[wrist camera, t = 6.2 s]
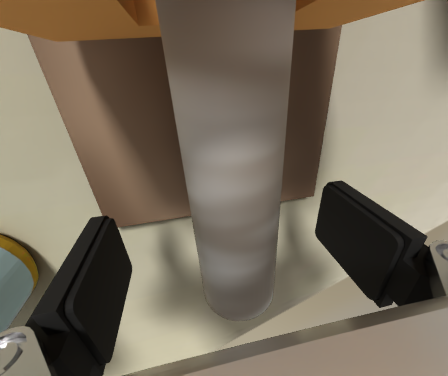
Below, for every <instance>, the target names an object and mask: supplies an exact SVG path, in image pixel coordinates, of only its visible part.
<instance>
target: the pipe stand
mask: <svg viewBox="0 0 448 376" xmlns="http://www.w3.org/2000/svg"><path fill="white" fill-rule="evenodd" d="M155 2H156V8H157V14H158V20H159V26H160V31H161V37H145V38H125V39H104V40H83V41H63V42H55V41H52V40H48V39H44V38H40V37H36V36H32V35H28V34H27V35H28V37H29V40H30V42H31V45H32V47H33V49H34V52H35V54H36V57H37V59H38V61H39V64H40V66H41V69H42V71H43V73H44V76H45V78H46V81H47V83H48V85H49V88H50V90H51V93H52V95H53V97H54V100H55V102H56V105H57V107H58V110H59V112H60V114H61V117H62V119H63V122H64V124H65V126H66V129H67V131H68V134H69V136H70V138H71V141H72V143H73V146H74V148H75V150H76V153H77V155H78V158H79V160H80V162H81V165H82V167H83V170H84V172H85V174H86V177H87V179H88V182H89V184H90V186H91V189H92V191H93V194H94V196H95V198H96V201H97V203H98V206H99V208H100V210H101V213H102V215H103V216H106V215H107V216H108V217H109V218H113V219H114V220H115V222H116V225H117V227H123V226H129V225H136V224H142V223H148V222H155V221H161V220H167V219H173V218H180V217H186V216H192V222H193V228H194V234H195V240H196V246H197V252H198V258H199V264H200V270H201V276H202V282H203V288H204V293H205V298H206V301H207V303H208V305H209V306H210V307H211V309H212V310H213V311H214V312H215V313H217V314H218V315H220V316H221V317H223V318H226V319H229V320H233V321H245V320H250V319H253V318H255V317H257V316H259V315H260V314H262V313H263V312H264V311H265V310H266V309H267V308H268V306H269V305H270V303H271V301H272V298H273V291H274V278H275V265H276V253H277V240H278V227H279V214H280V201H286V200H292V199H299V198H305V197H311V196H314V191H315V185H316V179H317V173H318V167H319V161H320V155H321V149H322V143H323V137H324V131H325V125H326V119H327V113H328V106H329V100H330V94H331V88H332V82H333V76H334V70H335V64H336V58H337V52H338V46H339V40H340V34H341V28H342V25H340V26H336V27H333V28H330V29H311V30H294V22H295V9H296V0H155Z"/></svg>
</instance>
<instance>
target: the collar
mask: <svg viewBox="0 0 448 376" xmlns="http://www.w3.org/2000/svg"><path fill="white" fill-rule="evenodd" d="M420 1H424V0H296V9H295V22H294V30H311V29H330V28H333V27H336V26H340V25H343V24H346V23H350V22H353V21H356V20H360V19H363V18H367V17H370V16H373V15H377V14H380V13H383V12H387V11H390V10H393V9H397V8H400V7H403V6H407V5H410V4H414V3H417V2H420ZM0 27H1V28H5V29H9V30H13V31H17V32H21V33H25V34H28V35H32V36H36V37H40V38H44V39H48V40H52V41H55V42H63V41H83V40H104V39H125V38H145V37H161V31H160V26H159V20H158V14H157V8H156V2H155V0H0Z"/></svg>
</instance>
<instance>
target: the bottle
mask: <svg viewBox="0 0 448 376" xmlns="http://www.w3.org/2000/svg"><path fill="white" fill-rule="evenodd" d="M38 276H39V275H38V271H37V267H36V264H35V262H34V260H33V258H32V256H31V255H30V254H29V253H28V251H27V250H26V249H25V248H24V247H22V246H21V245H20V244H18V243H17V242H16V241H14V240H12V239H10V238H8V237H5V236H3V235H1V234H0V333H1V332H3V331H5V330H7V329H8V328H9V326H10V325H11V323H12V322H13V320H14V319H15V317H16V316H17V314H18V313H19V311H20V310H21V308H22V307H23V305H24V304H25V302H26V301H27V299H28V298H29V296H30V295H31V293H32V291H33V289H34V288H35V286H36V284H37V281H38Z"/></svg>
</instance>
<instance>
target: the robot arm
mask: <svg viewBox="0 0 448 376" xmlns="http://www.w3.org/2000/svg"><path fill="white" fill-rule="evenodd" d="M315 234H316V237H317V238H318V240H319V241H320V242H321V243H322V244H323V245H324V247H325V248H326V249H327V250H328V251H329V253H330V254H331V255H332V256H333V257H334V259H335V260H336V261H337V262H338V263H339V264H340V266H341V267H342V268H343V269H344V270H345V272H346V273H347V274H348V275H349V276H350V277H351V279H352V280H353V281H354V282H355V283H356V285H357V286H358V287H359V288H360V289H361V290H362V291H363V293H364V294H365V295H366V296H367V297H368V298H369V299H371V300H373V301H374V302H375V303H376V304H377V306H378V307H379V308H381V307H385V306H389V305H392V303H393V301H394V302H395V303H396V304H397V305H398V307H395V308H390V309H386V310H382V311H378V312H374V313H370V314H365V315H361V316H357V317H353V318H349V319H345V320H341V321H336V322H332V323H328V324H324V325H320V326H316V327H312V328H308V329H304V330H300V331H296V332H292V333H288V334H284V335H279V336H275V337H271V338H267V339H263V340H260V341H255V342H252V343H247V344H244V345H239V346H235V347H231V348H227V349H223V350H219V351H215V352H211V353H207V354H204V355H200V356H196V357H192V358H188V359H184V360H180V361H176V362H172V363H168V364H164V365H160V366H156V367H152V368H149V369H145V370H141V371H138V372H134V373H130V374H127V375H123V376H448V241H443V240H441V241H434V242H432V243H431V244H430V245H429V247H428V246H426V245H425V244H424V242H425V241H426V239H427V236H426V235H424V234H423V233H421V232H420V231H418V230H417V229H415V228H414V227H412V226H411V225H409V224H408V223H406V222H404V221H403V220H401V219H400V218H398V217H397V216H395V215H394V214H392V213H391V212H389V211H388V210H386V209H385V208H383V207H382V206H380V205H378V204H377V203H375V202H374V201H372V200H371V199H369V198H368V197H366V196H365V195H363V194H362V193H360V192H359V191H357V190H355V189H354V188H352V187H351V186H349V185H348V184H346V183H345V182H343V181H334V182H329V183H327V184H326V186H324V188H323V192H322V198H321V203H320V208H319V213H318V219H317V224H316V229H315ZM131 274H132V265H131V262H130V259H129V256H128V254H127V251H126V249H125V246H124V243H123V241H122V238H121V235H120V233H119V230H118V228H117V225H116V222H115V220H114V219H113V218H109V217H108V216H107V215H106V216H99V217H92V218H91V219H90V220H89V221H88V223H87V225H86V226H85V228H84V230H83V231H82V233H81V234H80V236H79V238H78V239H77V241H76V243H75V244H74V246H73V248H72V249H71V251H70V253H69V254H68V256H67V257H66V259H65V261H64V262H63V264H62V266H61V267H60V269H59V271H58V272H57V274H56V276H55V277H54V279H53V280H52V282H51V284H50V285H49V287H48V289H47V290H46V292H45V294H44V295H43V297H42V298H41V300H40V302H39V303H38V305H37V307H36V308H35V310H34V312H33V313H32V315H31V317H30V318H29V320H28V322H27V323H26V325H25V326H18V327H13V328H10V329H8V330H5V331H3V332H1V333H0V376H103V373H104V369H105V365H106V363H109V362H110V361H111V359H112V355H113V351H114V347H115V342H116V338H117V334H118V330H119V325H120V321H121V317H122V313H123V308H124V304H125V300H126V295H127V291H128V287H129V283H130V278H131Z"/></svg>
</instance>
